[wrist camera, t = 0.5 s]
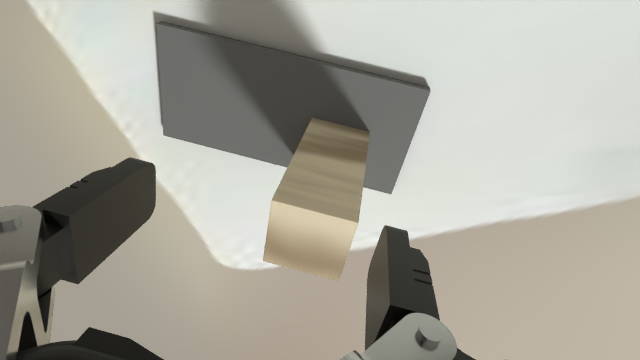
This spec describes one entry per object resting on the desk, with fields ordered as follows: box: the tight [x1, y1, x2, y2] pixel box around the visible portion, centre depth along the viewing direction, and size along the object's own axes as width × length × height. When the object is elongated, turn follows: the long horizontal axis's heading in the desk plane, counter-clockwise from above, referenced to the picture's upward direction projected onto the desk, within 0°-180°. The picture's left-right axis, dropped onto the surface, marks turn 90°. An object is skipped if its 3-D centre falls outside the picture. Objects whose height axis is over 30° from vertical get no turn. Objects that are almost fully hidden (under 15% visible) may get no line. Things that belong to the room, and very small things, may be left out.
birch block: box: [263, 117, 370, 281], centre depth 26 cm, size 5×5×12 cm
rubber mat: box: [156, 22, 430, 194], centre depth 31 cm, size 10×22×1 cm, turn 79°
